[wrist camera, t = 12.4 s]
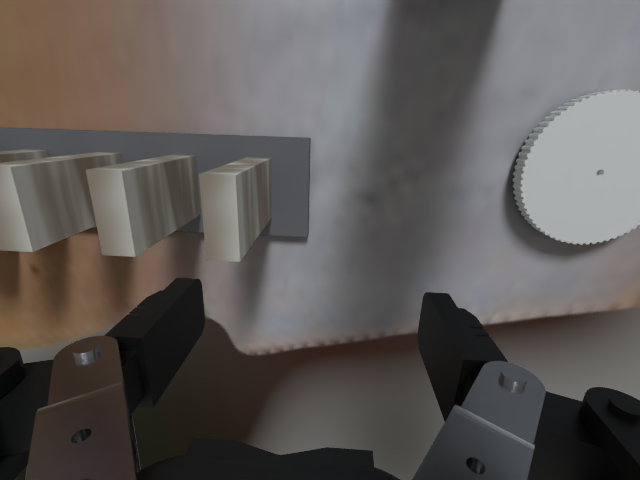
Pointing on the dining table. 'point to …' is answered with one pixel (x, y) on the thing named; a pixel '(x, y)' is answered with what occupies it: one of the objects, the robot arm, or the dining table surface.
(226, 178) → the ivory domino
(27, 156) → the ivory domino
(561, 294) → the dining table surface
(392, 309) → the dining table surface
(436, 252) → the dining table surface
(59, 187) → the ivory domino
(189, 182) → the ivory domino
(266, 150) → the domino board
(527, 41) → the dining table surface
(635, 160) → the plastic lid
